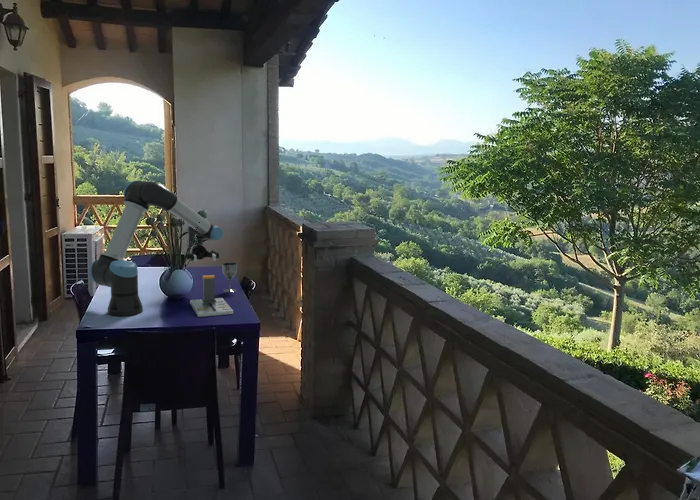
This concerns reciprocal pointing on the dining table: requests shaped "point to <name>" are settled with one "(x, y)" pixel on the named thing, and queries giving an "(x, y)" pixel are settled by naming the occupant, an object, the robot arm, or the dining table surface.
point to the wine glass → (229, 273)
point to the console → (211, 308)
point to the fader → (209, 289)
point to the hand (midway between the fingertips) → (205, 258)
